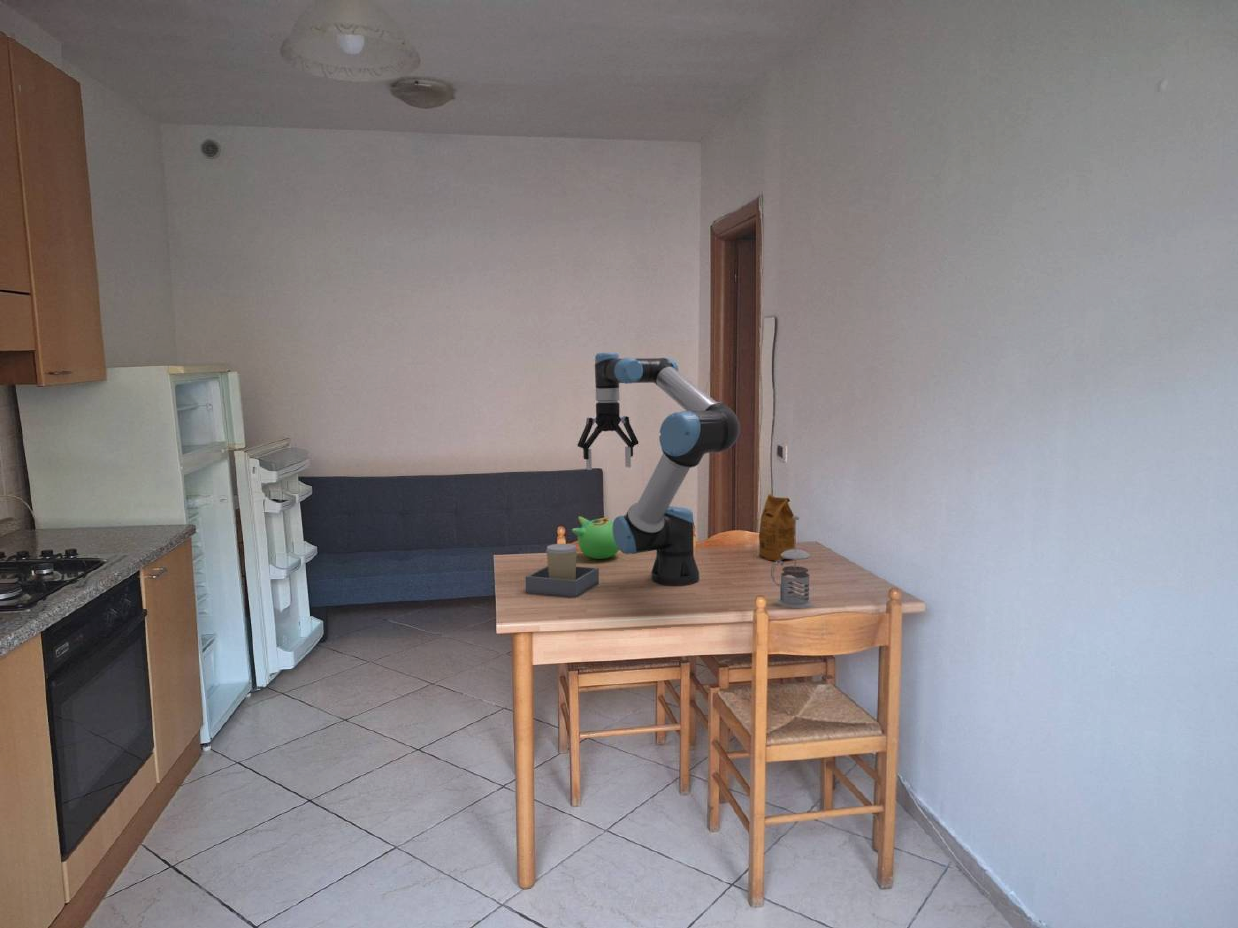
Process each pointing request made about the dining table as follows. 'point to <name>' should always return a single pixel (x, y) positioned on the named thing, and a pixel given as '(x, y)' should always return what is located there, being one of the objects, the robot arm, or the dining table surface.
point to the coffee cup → (562, 561)
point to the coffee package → (776, 528)
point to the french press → (794, 579)
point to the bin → (562, 583)
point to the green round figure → (596, 538)
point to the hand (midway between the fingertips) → (608, 468)
